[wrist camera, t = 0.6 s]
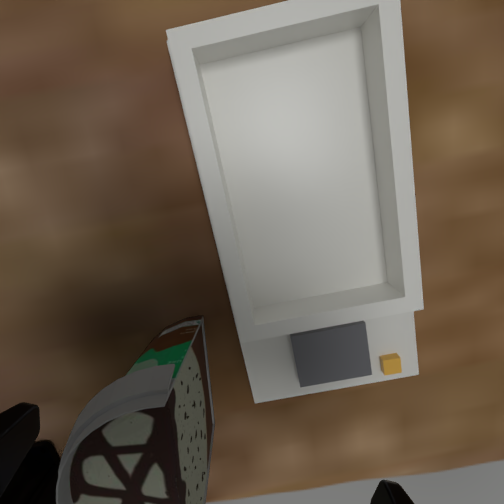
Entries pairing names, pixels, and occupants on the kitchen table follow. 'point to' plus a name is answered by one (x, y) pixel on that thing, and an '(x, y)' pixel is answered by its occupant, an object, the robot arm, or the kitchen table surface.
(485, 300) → the kitchen table surface
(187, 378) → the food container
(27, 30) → the kitchen table surface
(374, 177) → the dock
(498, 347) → the kitchen table surface
